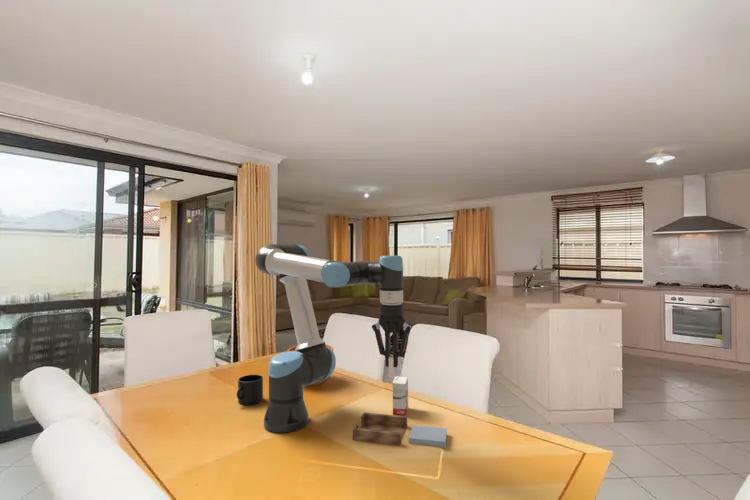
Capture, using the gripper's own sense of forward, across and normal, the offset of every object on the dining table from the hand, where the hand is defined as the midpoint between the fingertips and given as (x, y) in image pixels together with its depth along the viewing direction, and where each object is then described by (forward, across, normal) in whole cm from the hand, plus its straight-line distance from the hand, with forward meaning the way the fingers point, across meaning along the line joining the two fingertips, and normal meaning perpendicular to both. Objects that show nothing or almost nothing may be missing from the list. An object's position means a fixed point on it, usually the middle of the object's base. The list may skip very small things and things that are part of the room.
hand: (391, 376), depth 121 cm
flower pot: (+20, -48, +44) cm, 68 cm away
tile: (+19, +12, 0) cm, 22 cm away
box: (+19, -4, 0) cm, 19 cm away
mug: (+20, -62, +15) cm, 66 cm away
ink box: (+19, -1, +19) cm, 27 cm away
